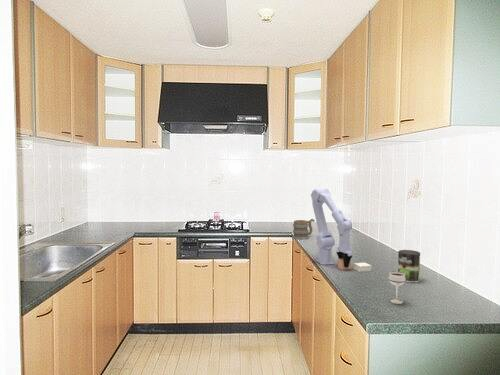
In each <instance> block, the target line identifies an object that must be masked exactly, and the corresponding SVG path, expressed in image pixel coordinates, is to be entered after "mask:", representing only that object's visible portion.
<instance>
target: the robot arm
mask: <svg viewBox="0 0 500 375" xmlns="http://www.w3.org/2000/svg"><path fill="white" fill-rule="evenodd" d="M331 195H332V194H331V192H330V191H329V189H327V188H321V189H318V188H317V189H313V190H312V192H311V193H310V197H311V201H312V209H313V213H314V217H315V222H316V226H317V230H318V234H317V235H316V245H317V246H316V247H318V249H317V257H316V258H317V259H316V260H315V262H317V263H318V264H320V265H334V264H335V262H333V261H332V260H333V259H332V258H333V248H334V246H335V243H336V242H335V238H334V237H333V233H332V232H330V231H329V229H328V224H327V221H326V217H325V213H324V208H323V204H326V206H327V208H328V209H329V210H330V211H331V217H332V218H333V220H334V221H335V223H336V229H337V231H338V235H339V236H338V240H339V241H338V246H337V247H336V250H337V251H336V255H337V258H338V259H343V261H344V267H348V266H349V263H350V264H351V260H352V258H353V252H352V249H351V248H350V247H351V246H350V243H351V242H350V236H351V233H350V232H351V230H352V228H353V224H352V222H351V220H349V219H348V218H346V217H345V214H344V213H343V211H342V210H341V209H338V208H337V206H336V203H335V202H334V200H333V199H332V196H331Z"/></svg>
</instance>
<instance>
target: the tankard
mask: <svg viewBox="0 0 500 375" xmlns="http://www.w3.org/2000/svg"><path fill="white" fill-rule="evenodd" d="M314 222H316V219H313V218H310V219H309V220H305V219H300V220H299V219H298V220H297V219H296V220H294V221H293V224H292V227H293V230H292V233H293V235H292V236H291V238H292V239H294V240H301V241H302V240H308V239H309V238H310V235H312V233H313V225H312V223H314ZM308 228H309V229H308Z"/></svg>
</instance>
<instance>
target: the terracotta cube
mask: <svg viewBox="0 0 500 375" xmlns="http://www.w3.org/2000/svg"><path fill="white" fill-rule="evenodd" d="M337 267H338V269H340V270H341V271H343V270H344V271H345V270H346V271H347V270H351V262H350V263H349V266H348V267H344V261H343V259H339V258H338V259H337Z"/></svg>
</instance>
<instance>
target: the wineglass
mask: <svg viewBox="0 0 500 375" xmlns="http://www.w3.org/2000/svg"><path fill="white" fill-rule="evenodd" d="M388 274H389V275H388V281H389V282H390V283H391V285H393V286H394V287H395V298H394V299H391V300H390V302H391V303H392V304H399V305H400V304H403V303H404V301H402V300H400V299H398V293H399V292H398V289H399V287H400V286H403V285H405V283H406V282H405V281H406V278H405V275H406V274H405V273H403V272H398V270H396V271H395V270H392V271H389V272H388Z"/></svg>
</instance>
